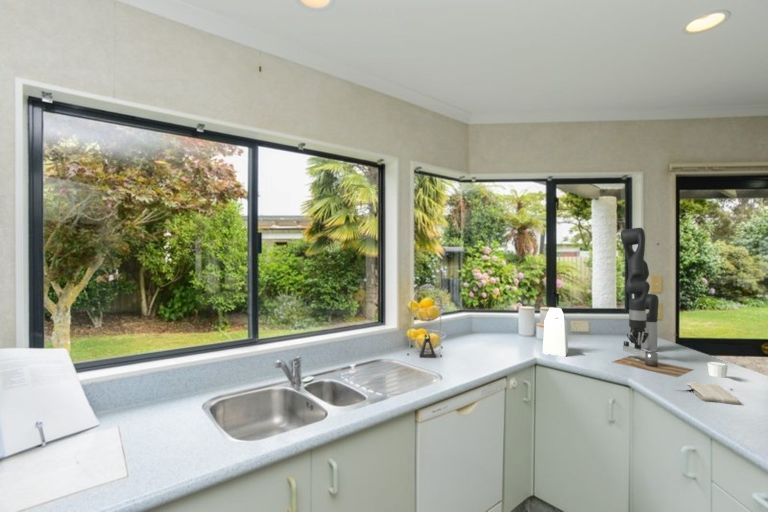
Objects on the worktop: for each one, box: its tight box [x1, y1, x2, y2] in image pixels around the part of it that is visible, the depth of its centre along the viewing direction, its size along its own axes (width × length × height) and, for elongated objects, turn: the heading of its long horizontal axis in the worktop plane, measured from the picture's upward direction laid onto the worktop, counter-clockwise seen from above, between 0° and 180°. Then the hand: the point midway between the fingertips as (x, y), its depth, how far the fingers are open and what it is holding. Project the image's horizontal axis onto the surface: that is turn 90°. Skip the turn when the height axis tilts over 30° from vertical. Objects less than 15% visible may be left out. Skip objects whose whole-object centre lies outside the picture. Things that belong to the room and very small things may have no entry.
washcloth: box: [686, 381, 741, 406], centre depth 149 cm, size 12×18×3 cm, turn 160°
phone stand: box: [418, 333, 437, 359], centre depth 207 cm, size 9×6×12 cm, turn 86°
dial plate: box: [612, 355, 695, 378], centre depth 183 cm, size 20×28×2 cm
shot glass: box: [706, 361, 728, 379], centre depth 168 cm, size 7×7×7 cm
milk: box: [542, 307, 569, 357], centre depth 212 cm, size 12×12×26 cm
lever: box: [622, 340, 659, 367], centre depth 190 cm, size 19×5×8 cm, turn 11°
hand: (637, 351), depth 194 cm, fingers closed
